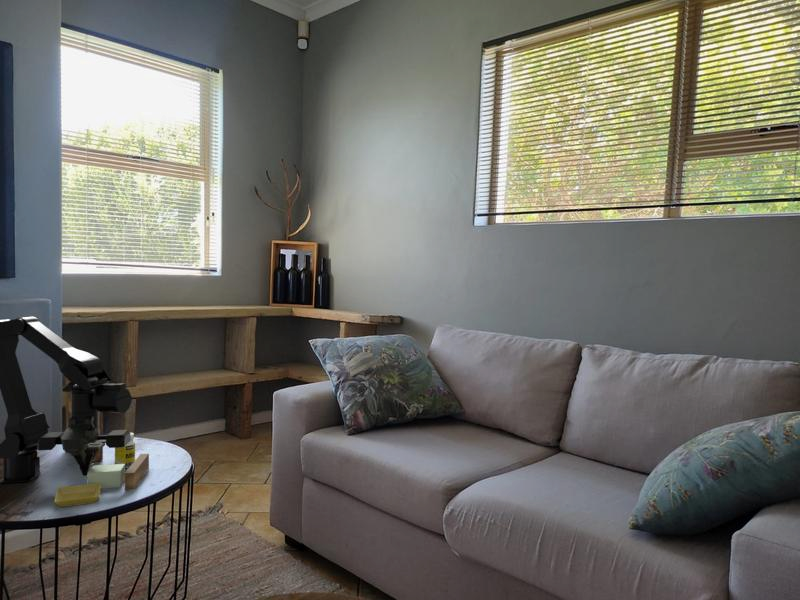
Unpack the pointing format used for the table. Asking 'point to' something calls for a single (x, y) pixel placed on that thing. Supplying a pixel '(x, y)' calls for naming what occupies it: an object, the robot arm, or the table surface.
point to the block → (107, 475)
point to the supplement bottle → (126, 453)
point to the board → (136, 471)
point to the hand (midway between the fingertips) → (85, 475)
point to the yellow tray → (77, 494)
